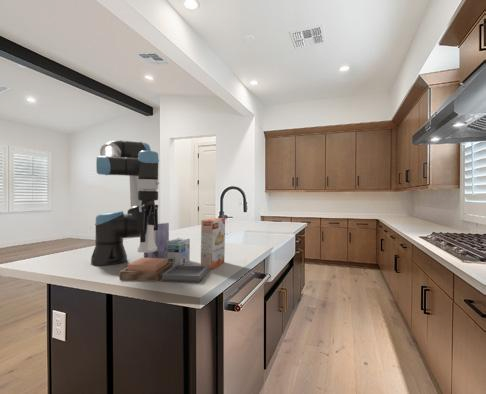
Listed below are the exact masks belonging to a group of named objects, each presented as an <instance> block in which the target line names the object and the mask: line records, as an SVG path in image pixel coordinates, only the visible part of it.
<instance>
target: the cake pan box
mask: <svg viewBox="0 0 486 394" xmlns="http://www.w3.org/2000/svg"><path fill="white" fill-rule="evenodd" d="M169 226H170V223H169V222H160V223H158V230H155V244H156V247H158V248H157V249H158V250H157V251H155V252H148V253H143V258H168V241H170V238H169V237H170V232H169V231H170V229H169V228H170V227H169Z"/></svg>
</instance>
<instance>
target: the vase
mask: <svg viewBox="0 0 486 394" xmlns="http://www.w3.org/2000/svg"><path fill="white" fill-rule="evenodd" d="M153 231H154V225H148V226H147V232H146V233H148V250H147V251H146V250H140V244H139V246H138V247H137V252H138V253H143V254H144V253H148V252H155V251H157V250H158V249H157V248H158V247H156V244H155V241H154V234H153Z"/></svg>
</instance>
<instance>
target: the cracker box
mask: <svg viewBox="0 0 486 394" xmlns="http://www.w3.org/2000/svg"><path fill="white" fill-rule="evenodd" d="M200 222H201V223H200V225H201V226H200V227H201V228H200V265H202V266H208V270H213V269H215V268H217V267H219V266H220V265H222V264H224V263H225V253H226V252H225V250H226V249H225V245H226V244H225V243H226V241H225V240H226V218H225V217H224V218H223V217H214V218H213V217H211V218H207V219H202V220H201V221H200Z"/></svg>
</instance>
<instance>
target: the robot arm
mask: <svg viewBox="0 0 486 394" xmlns="http://www.w3.org/2000/svg"><path fill="white" fill-rule="evenodd" d="M99 154H100V155H98V156H96V159H95V160H96V167H95V168H96V174H98V175H104V176H126V177H127V176H129V195H130V196H129V197H130V198H129V199H130V208H129V209H128V210H127V213H124V211H123V210H117V211H109V212H104V213H99V214H97V215H96V217H95V224H94V226H95V238H94V239H95V243H94V244H95V247H94V249H93V252H92V254H91V258H90V263H91V264H92V265H95V266H109V265H117V264H121V263H124V262H126V261H127V260H128V255H127V251H126V249H125V246H124V239H131V238H132V239H133V238H139V245H140V250H146V251H147V250H148V233H146V232H147V226H148V225H154V231H153V234H154V241H155V230H158V224H159V214H158V213H159V212H158V210H159V204H156V203H155V201H158V200H159V192H158V190H159V184H160V182H159V162H160V160H159V153H158V152H157V151H154V150H152V149H151V146H150V144H148V143H147V142H143V141H131V140H130V141H129V140H122V139H120V140H119V139H117V140H111V141H107V142H106V143H103V145H102V146H101V147H100V150H99Z"/></svg>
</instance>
